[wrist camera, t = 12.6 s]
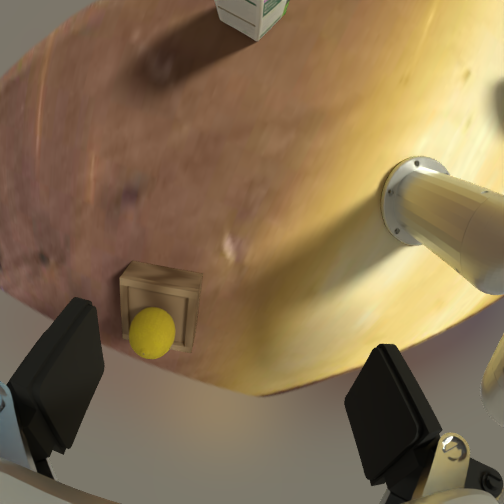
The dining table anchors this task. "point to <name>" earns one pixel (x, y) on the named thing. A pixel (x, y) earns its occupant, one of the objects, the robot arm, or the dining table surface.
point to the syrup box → (251, 15)
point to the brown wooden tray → (162, 298)
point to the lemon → (152, 333)
